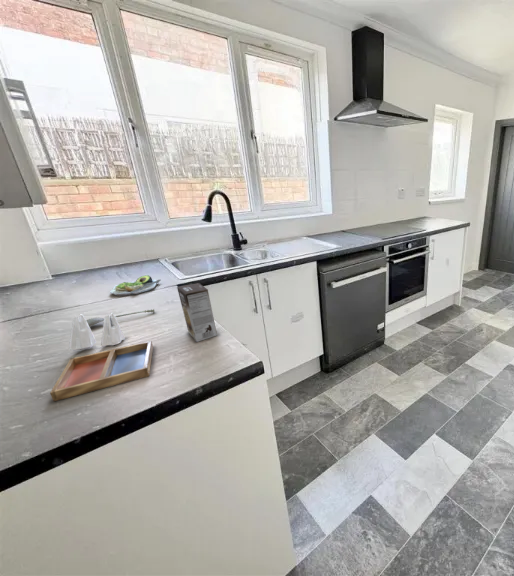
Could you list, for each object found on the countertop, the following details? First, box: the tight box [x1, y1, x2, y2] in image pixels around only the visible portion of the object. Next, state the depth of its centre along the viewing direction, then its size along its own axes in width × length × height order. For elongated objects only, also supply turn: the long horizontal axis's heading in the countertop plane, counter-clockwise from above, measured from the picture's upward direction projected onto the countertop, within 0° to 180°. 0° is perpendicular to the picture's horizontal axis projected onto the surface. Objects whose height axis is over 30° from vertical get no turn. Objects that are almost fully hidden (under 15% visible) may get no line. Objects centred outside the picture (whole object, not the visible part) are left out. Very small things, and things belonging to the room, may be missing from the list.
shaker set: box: [68, 312, 125, 352], centre depth 91 cm, size 12×4×11 cm, turn 125°
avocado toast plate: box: [109, 274, 162, 297], centre depth 140 cm, size 19×18×5 cm
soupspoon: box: [86, 308, 155, 328], centre depth 110 cm, size 22×3×7 cm
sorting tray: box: [49, 340, 154, 402], centre depth 81 cm, size 18×17×2 cm
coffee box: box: [176, 282, 218, 343], centre depth 98 cm, size 9×6×16 cm
